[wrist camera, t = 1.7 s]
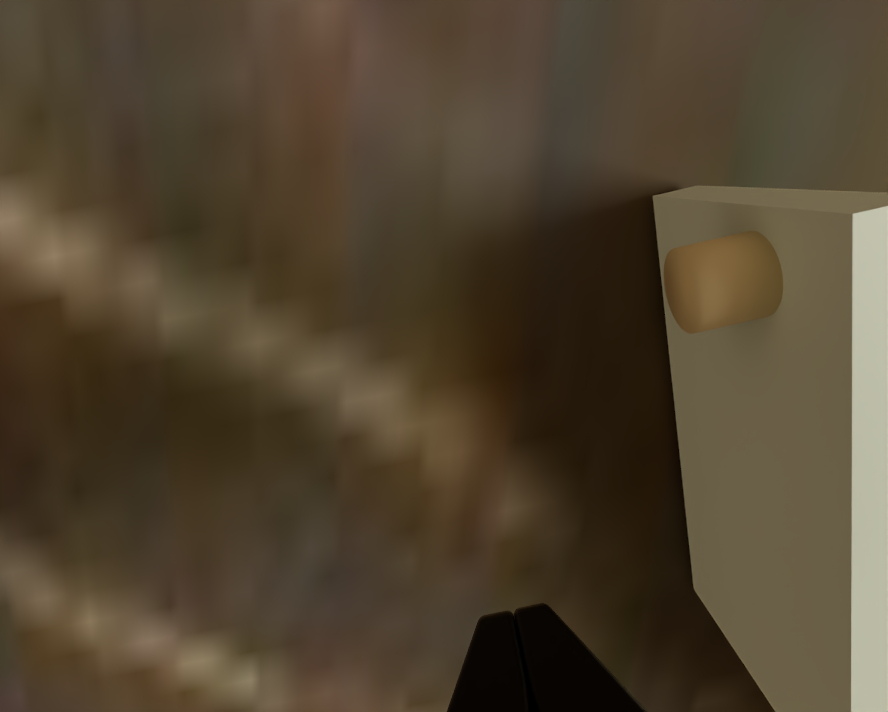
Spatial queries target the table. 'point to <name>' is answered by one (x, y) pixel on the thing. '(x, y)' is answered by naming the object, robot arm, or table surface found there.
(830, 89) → the table surface
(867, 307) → the cabinet door
